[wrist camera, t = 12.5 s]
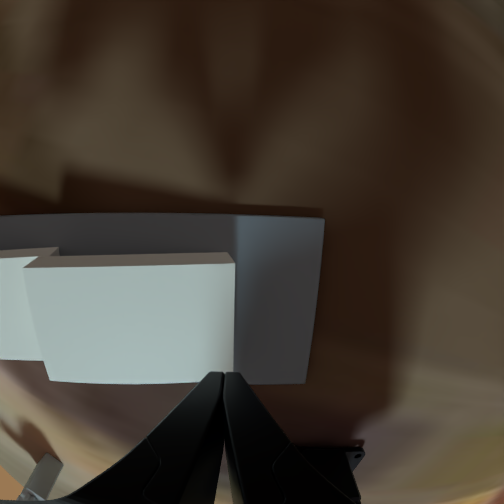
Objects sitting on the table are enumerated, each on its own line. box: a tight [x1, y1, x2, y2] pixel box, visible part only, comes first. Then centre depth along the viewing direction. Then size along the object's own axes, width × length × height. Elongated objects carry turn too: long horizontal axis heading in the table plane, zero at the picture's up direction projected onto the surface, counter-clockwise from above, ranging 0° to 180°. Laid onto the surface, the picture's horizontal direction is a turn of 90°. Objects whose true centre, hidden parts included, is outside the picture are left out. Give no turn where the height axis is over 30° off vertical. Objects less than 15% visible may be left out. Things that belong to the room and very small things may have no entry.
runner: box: [0, 213, 325, 385], centre depth 13 cm, size 30×8×1 cm, turn 88°
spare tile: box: [23, 252, 235, 384], centre depth 11 cm, size 2×5×8 cm
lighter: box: [17, 453, 63, 501], centre depth 13 cm, size 7×2×8 cm, turn 137°
